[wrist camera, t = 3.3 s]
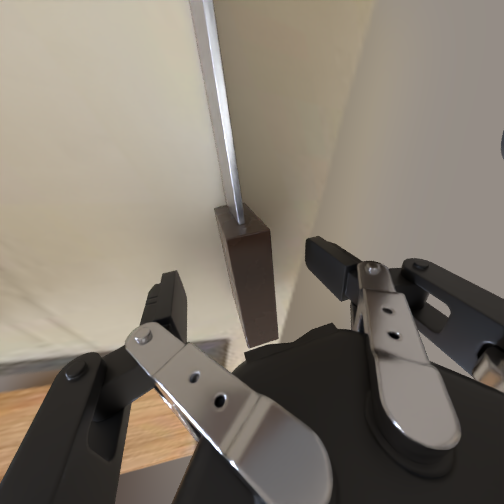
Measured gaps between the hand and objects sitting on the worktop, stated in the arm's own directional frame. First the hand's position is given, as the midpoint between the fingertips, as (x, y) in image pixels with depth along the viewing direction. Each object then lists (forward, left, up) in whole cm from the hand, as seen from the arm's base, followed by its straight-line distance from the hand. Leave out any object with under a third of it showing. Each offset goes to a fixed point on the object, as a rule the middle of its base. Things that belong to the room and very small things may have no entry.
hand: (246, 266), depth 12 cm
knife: (0, -5, -5) cm, 7 cm away
